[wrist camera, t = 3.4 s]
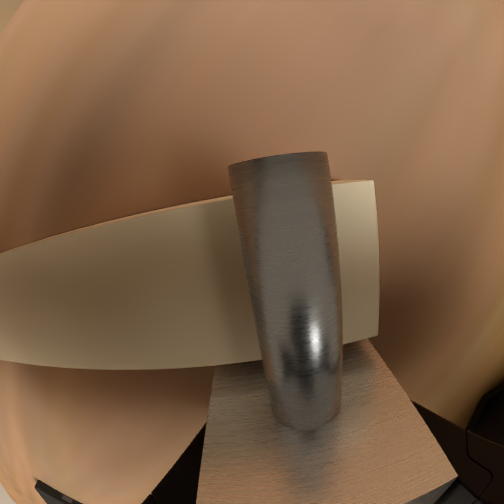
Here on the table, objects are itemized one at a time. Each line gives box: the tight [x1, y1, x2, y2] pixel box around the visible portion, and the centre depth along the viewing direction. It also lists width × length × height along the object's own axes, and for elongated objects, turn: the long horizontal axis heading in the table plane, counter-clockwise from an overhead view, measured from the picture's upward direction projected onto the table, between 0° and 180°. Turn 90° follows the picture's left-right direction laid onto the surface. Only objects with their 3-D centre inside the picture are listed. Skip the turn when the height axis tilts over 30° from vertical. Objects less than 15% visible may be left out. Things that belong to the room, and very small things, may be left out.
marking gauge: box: [196, 152, 458, 504], centre depth 5 cm, size 8×4×6 cm, turn 9°
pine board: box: [0, 180, 380, 370], centre depth 6 cm, size 4×13×2 cm, turn 99°
